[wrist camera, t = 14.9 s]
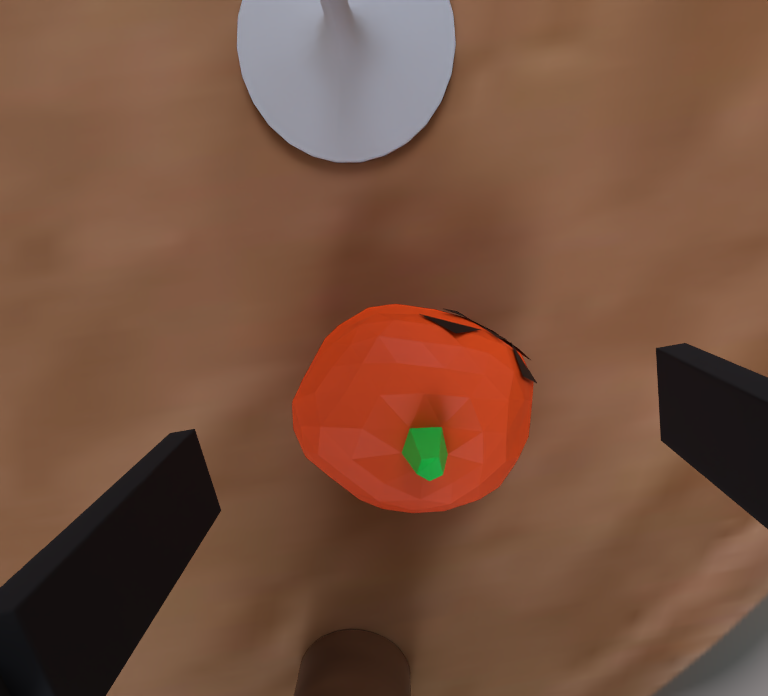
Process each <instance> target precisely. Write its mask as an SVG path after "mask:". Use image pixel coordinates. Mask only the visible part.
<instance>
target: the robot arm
mask: <svg viewBox="0 0 768 696" xmlns="http://www.w3.org/2000/svg"><path fill="white" fill-rule="evenodd" d="M656 357H657V376H658V394H659V413H660V431H661V441H662V442H664V443H665V444H666V445H667V446H668V447H670V448H671V449H672V450H673V451H674V452H676V453H677V454H678V455H679V456H680V457H682V458H683V459H684V460H685V461H686V462H688V463H689V464H690V465H691V466H692V467H694V468H695V469H696V470H697V471H698V472H700V473H701V474H702V475H703V476H705V477H706V478H707V479H708V480H709V481H711V482H712V483H713V484H714V485H715V486H717V487H718V488H719V489H720V490H721V491H723V492H724V493H725V494H726V495H727V496H729V497H730V498H731V499H732V500H733V501H735V502H736V503H737V504H738V505H739V506H741V507H742V508H743V509H744V510H745V511H747V512H748V513H749V514H750V515H751V516H753V517H754V518H755V519H756V520H757V521H759V522H760V523H761V524H762V525H764V526H765V527H766V528H767V529H768V377H765V376H763V375H760V374H758V373H756V372H753V371H751V370H748V369H746V368H744V367H741V366H739V365H736V364H734V363H732V362H729V361H727V360H725V359H722V358H720V357H717V356H715V355H713V354H710V353H708V352H705V351H703V350H701V349H698V348H696V347H693V346H691V345H689V344H686V343H683V344H677V345H672V346H666V347H660V348H656ZM220 511H221V508H220V505H219V502H218V499H217V496H216V493H215V490H214V487H213V484H212V481H211V478H210V475H209V471H208V468H207V465H206V462H205V459H204V456H203V453H202V450H201V447H200V444H199V441H198V438H197V434H196V431H195V429H191V430H186V431H180V432H174V433H170V434H169V435H168V436H166V437H165V438H164V439H163V440H162V441H161V442H160V443H159V444H158V445H157V446H155V447H154V448H153V449H152V450H151V451H150V452H149V453H148V454H147V455H146V456H145V457H143V458H142V459H141V460H140V461H139V462H138V463H137V464H136V465H135V466H134V467H132V468H131V469H130V470H129V471H128V472H127V473H126V474H125V475H124V476H123V477H121V478H120V479H119V480H118V481H117V482H116V483H115V484H114V485H113V486H112V487H111V488H109V489H108V490H107V491H106V492H105V493H104V494H103V495H102V496H101V497H100V498H98V499H97V500H96V501H95V502H94V503H93V504H92V505H91V506H90V507H89V508H88V509H86V510H85V511H84V512H83V513H82V514H81V515H80V516H79V517H78V518H77V519H75V520H74V521H73V522H72V523H71V524H70V525H69V526H68V527H67V528H66V529H64V530H63V531H62V532H61V533H60V534H59V535H58V536H57V537H56V538H55V539H54V540H52V541H51V542H50V543H49V544H48V545H47V546H46V547H45V548H44V549H42V550H41V551H40V552H39V553H38V554H37V555H35V556H34V557H33V558H32V559H31V560H30V561H29V562H28V563H27V564H26V565H24V566H23V568H22V569H21V570H20V571H18V572H17V573H16V574H15V575H13V576H12V577H11V578H10V579H9V580H8V581H7V582H6V583H5V584H4V585H3V586H1V587H0V696H106V694H107V693H108V691H109V690H110V688H111V686H112V685H113V683H114V682H115V680H116V678H117V677H118V675H119V674H120V672H121V670H122V669H123V667H124V665H125V664H126V662H127V661H128V659H129V657H130V656H131V654H132V653H133V651H134V649H135V648H136V646H137V645H138V643H139V641H140V640H141V638H142V637H143V635H144V633H145V632H146V630H147V629H148V627H149V625H150V624H151V622H152V621H153V619H154V617H155V616H156V614H157V613H158V611H159V609H160V608H161V606H162V605H163V603H164V601H165V600H166V598H167V596H168V595H169V593H170V592H171V590H172V588H173V587H174V585H175V584H176V582H177V580H178V579H179V577H180V576H181V574H182V572H183V571H184V569H185V568H186V566H187V564H188V563H189V561H190V560H191V558H192V556H193V555H194V553H195V552H196V550H197V548H198V547H199V545H200V544H201V542H202V540H203V539H204V537H205V536H206V534H207V532H208V531H209V529H210V527H211V526H212V524H213V523H214V521H215V519H216V518H217V516H218V515H219V513H220Z"/></svg>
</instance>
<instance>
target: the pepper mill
mask: <svg viewBox="0 0 768 696" xmlns="http://www.w3.org/2000/svg"><path fill="white" fill-rule="evenodd" d="M294 696H411V685H410V669H409V665H408V663H407V660H406V658H405V657H404V655H403V653H402V652H401V651H400V649H399V648H398V647H397V646H396V645H394V644H393V643H392V642H391V641H389V640H388V639H386V638H384V637H382V636H380V635H378V634H375V633H372V632H368V631H364V630H342V631H337V632H333V633H331V634H328V635H326V636H324V637H322V638H320V639H319V640H317V641H316V642H315V643H314V644H313V645H311V647H310V648H309V649H308V650H307V652H306V653H305V655H304V657H303V659H302V661H301V666H300V670H299V675H298V679H297V684H296V688H295V693H294Z"/></svg>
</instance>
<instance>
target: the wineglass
mask: <svg viewBox="0 0 768 696" xmlns="http://www.w3.org/2000/svg"><path fill="white" fill-rule="evenodd" d="M455 45H456V42H455V29H454V17H453V11H452V8H451V5H450V2H449V0H242V4H241V7H240V11H239V15H238V31H237V50H238V56H239V61H240V67H241V72H242V77H243V79H244V82H245V84H246V87H247V89H248V91H249V94H250V96H251V99H252V101H253V103H254V105H255V106H256V107H257V109H258V110H259V112H260V113H261V115H262V116H263V117H264V119H265V120H266V122H267V123H268V125H269V126H270V127H271V128H273V129H274V130H275V131H276V132H277V133H278V134H279V135H280V136H281V137H283V138H284V139H285V140H286V141H287V142H288V143H289V144H290V145H292V146H294V147H296V148H298V149H300V150H302V151H303V152H305V153H307V154H309V155H311V156H313V157H317V158H321V159H325V160H328V161H332V162H336V163H344V162H364V161H368V160H372V159H375V158H379V157H383V156H386V155H388V154H389V153H391V152H393V151H395V150H396V149H398V148H400V147H402V146H403V145H405V144H407V143H408V142H409V141H410V140H411V139H412V138H413V137H414V136H415V135H416V134H417V133H418V132H420V131H421V130H422V129H423V128H424V127H425V126H426V125H427V123H428V122H429V120H430V118H431V117H432V115H433V114H434V112H435V111H436V109H437V108H438V106H439V105H440V103H441V101H442V98H443V96H444V93H445V90H446V87H447V85H448V82H449V79H450V77H451V74H452V67H453V60H454V52H455Z"/></svg>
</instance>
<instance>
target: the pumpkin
mask: <svg viewBox="0 0 768 696" xmlns="http://www.w3.org/2000/svg"><path fill="white" fill-rule="evenodd" d="M445 310H447V309H445ZM448 311H451V312H453V313H456V314H459V315H462V314H461V313H459V312H458V311H453V310H448ZM462 316H464V315H462ZM521 354H522V355H523V356H525V357H527V356H526V355H525V354H524V353H523V352H522V351H521V350H519V349H518V348H517V347H515V346H514V345H513V344H512V343H509V342H508V341H507V339H506V340H505V338H503V337H501V336H499V335H498V334H496V333H495V332H494V331H492V330H490V329H488V328H486V327H484V326H482V325H480V324H478V323H476V322H474V321H472V320H470V319H469V318H467V317H465V316H464V317H461V316H457V315H454V314H450V313H447V312H443V311H439V310H436V309H429V308H422V307H415V306H408V305H400V304H391V305H384V306H376V307H369V308H367V309H365V310H363V311H362V312H360V313H358V314H357V315H355V316H353V317H352V318H350V319H348V320H347V321H345V322H343V323H342V324H340V325H338V326H337V327H336V328H335V329H334V330H333V331H332V332H331V333H330V334H329V335H328V336H327V337H326V338H325V339H324V341H323V343H322V345H321V347H320V348H319V350H318V352H317V354H316V356H315V358H314V359H313V361H312V363H311V365H310V367H309V369H308V371H307V372H306V374H305V376H304V378H303V380H302V382H301V384H300V387H299V389H298V391H297V393H296V395H295V397H294V399H293V402H292V412H293V429H294V432H295V434H296V436H297V439H298V441H299V443H300V445H301V448H302V450H303V452H304V454H305V457H306V458H307V459H309V460H310V461H311V462H312V463H314V464H315V465H316V466H317V467H318V468H320V469H321V470H322V471H323V472H324V473H326V474H327V475H328V476H329V477H331V478H332V479H333V480H335V481H336V482H337V483H338V484H340V485H341V486H342V487H344V488H345V489H346V490H348V491H349V492H350V493H352V494H353V495H354V496H356V497H357V498H358V499H360V500H362V501H364V502H367V503H369V504H372V505H374V506H376V507H379V508H381V509H387V510H394V511H401V512H408V513H422V512H437V511H446V510H449V509H452V508H455V507H458V506H461V505H464V504H467V503H471V502H474V501H477V500H480V499H481V498H483V497H484V496H486V495H487V494H489V493H490V492H492V491H494V490H495V489H497V488H498V487H500V485H501V484H502V482H503V481H504V479H505V478H506V477H507V475H508V474H509V472H510V471H511V469H512V468H513V466H514V465H515V463H516V462H517V460H518V458H519V456H520V454H521V452H522V450H523V448H524V445H525V443H526V441H527V439H528V437H529V428H530V417H531V407H532V395H533V382H535V383H537V382H536V381H535V379H534V378H533V376H532V374H531V373H530V371H529V370H528V368H527V366H526V364H525V361H524V359H523V357H522V355H521ZM527 358H528V357H527ZM528 359H529V358H528Z"/></svg>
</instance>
